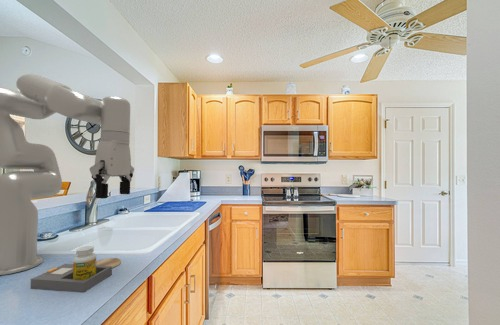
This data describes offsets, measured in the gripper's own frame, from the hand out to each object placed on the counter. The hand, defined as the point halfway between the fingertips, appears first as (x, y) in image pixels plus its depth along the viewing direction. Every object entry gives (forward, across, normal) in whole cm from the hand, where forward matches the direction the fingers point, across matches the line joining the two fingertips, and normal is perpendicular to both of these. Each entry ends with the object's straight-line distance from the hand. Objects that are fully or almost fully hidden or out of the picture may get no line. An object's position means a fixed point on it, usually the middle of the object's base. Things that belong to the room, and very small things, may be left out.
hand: (114, 195), depth 67 cm
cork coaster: (+24, -8, -9) cm, 27 cm away
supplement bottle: (+25, +2, -6) cm, 26 cm away
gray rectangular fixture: (+24, +2, -10) cm, 27 cm away
